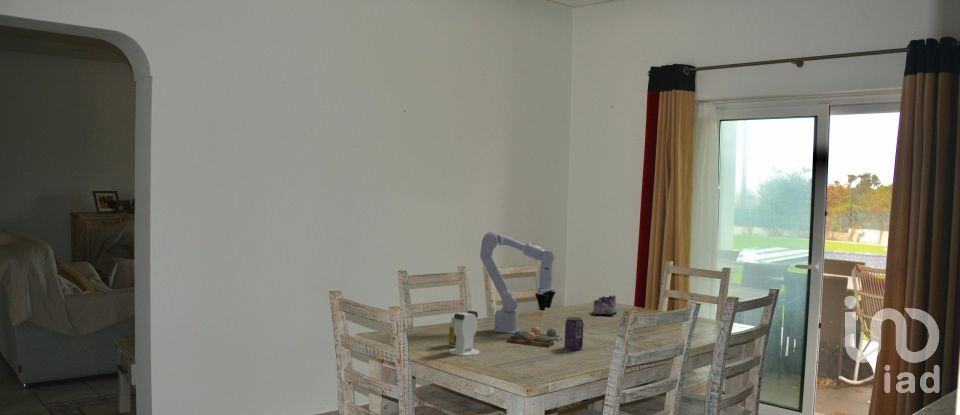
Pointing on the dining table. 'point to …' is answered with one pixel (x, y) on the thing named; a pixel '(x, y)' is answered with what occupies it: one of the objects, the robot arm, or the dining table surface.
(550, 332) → the grey ball
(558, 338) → the sage trough
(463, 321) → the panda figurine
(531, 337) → the terracotta ball
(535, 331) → the terracotta ball
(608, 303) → the geode
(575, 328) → the beverage can
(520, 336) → the grey ball
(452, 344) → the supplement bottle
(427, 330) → the dining table surface
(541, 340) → the walnut trough
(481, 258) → the robot arm
